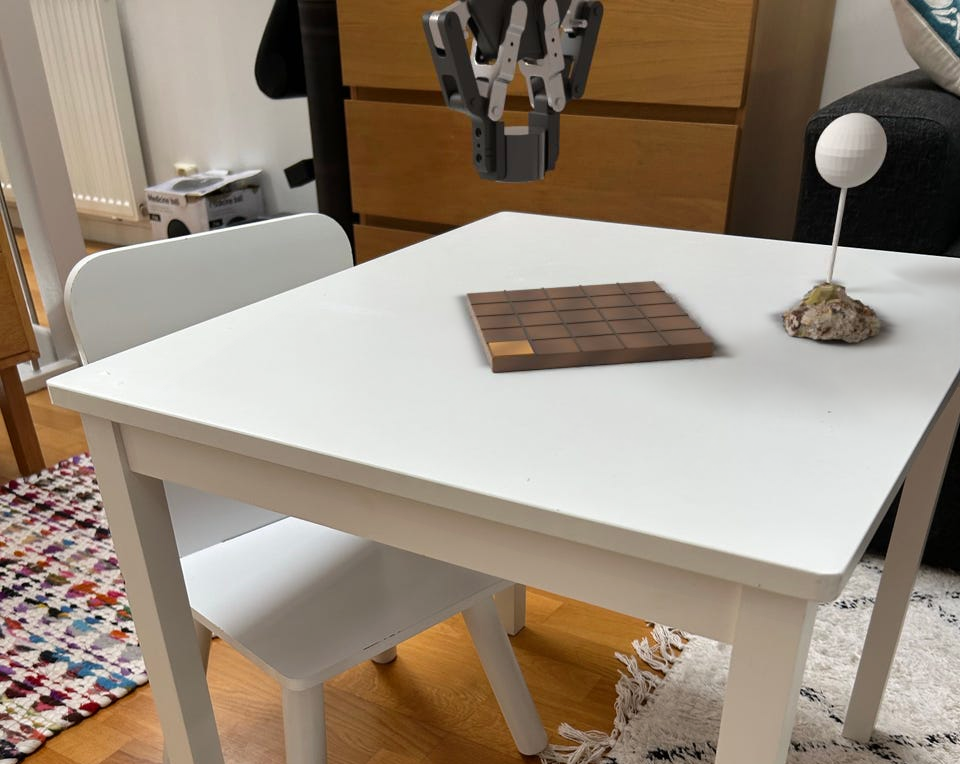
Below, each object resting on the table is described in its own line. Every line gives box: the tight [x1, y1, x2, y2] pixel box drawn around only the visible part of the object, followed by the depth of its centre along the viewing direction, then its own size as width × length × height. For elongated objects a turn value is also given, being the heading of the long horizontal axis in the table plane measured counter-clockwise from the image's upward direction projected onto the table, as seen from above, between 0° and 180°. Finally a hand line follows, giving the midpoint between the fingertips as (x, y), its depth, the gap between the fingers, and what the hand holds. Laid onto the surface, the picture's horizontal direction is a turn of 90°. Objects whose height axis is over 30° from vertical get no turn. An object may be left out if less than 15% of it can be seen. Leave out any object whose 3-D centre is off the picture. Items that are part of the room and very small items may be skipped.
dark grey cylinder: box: [496, 125, 546, 184], centre depth 70 cm, size 4×4×3 cm
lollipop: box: [814, 112, 888, 284], centre depth 89 cm, size 6×6×15 cm
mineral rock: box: [781, 281, 884, 344], centre depth 85 cm, size 11×4×8 cm
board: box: [466, 280, 714, 373], centre depth 86 cm, size 18×18×1 cm
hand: (517, 173), depth 70 cm, fingers closed on dark grey cylinder, 4 cm apart
